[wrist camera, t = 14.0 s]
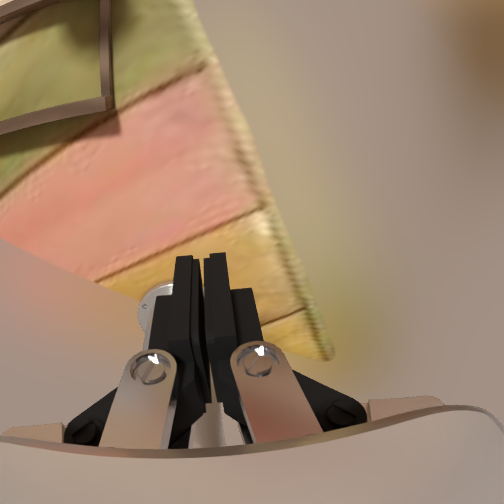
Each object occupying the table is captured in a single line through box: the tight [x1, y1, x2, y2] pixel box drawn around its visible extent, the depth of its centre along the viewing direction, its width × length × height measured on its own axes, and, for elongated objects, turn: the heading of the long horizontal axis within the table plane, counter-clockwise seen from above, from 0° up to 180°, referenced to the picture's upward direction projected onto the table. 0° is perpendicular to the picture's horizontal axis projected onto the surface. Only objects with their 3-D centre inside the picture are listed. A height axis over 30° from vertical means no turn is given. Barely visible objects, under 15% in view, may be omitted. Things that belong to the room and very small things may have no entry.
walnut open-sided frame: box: [0, 0, 114, 135], centre depth 24 cm, size 16×22×3 cm
